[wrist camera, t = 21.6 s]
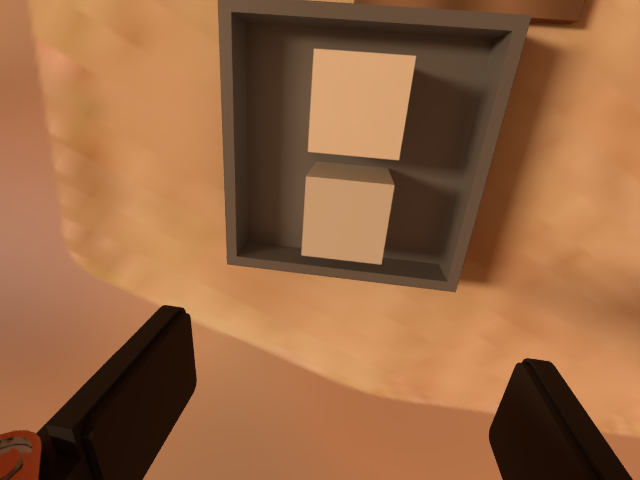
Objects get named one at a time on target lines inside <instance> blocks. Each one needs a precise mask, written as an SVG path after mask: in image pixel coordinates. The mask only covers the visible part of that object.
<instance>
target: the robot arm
mask: <svg viewBox="0 0 640 480" xmlns="http://www.w3.org/2000/svg"><path fill="white" fill-rule="evenodd" d="M196 380H197V379H196V369H195V359H194V349H193V338H192V328H191V318H190V315H189V314H188V313H186V312H185V309H184V308H181V307H174V306H168V305H164V306H162V307H160V308H159V309H158V311H156V312H155V314H153V316H152V317H151V318H150V319H149V320H148V321H147V322H146V323H145V324H144V325H143V326H142V327H141V328H140V329H139V330H138V331H137V332H136V333H135V334H134V335H133V336H132V337H131V338H130V339H129V340H128V341H127V342H126V343H125V344H124V345H123V346H122V347H121V348H120V349H119V350H118V351H117V352H116V353H115V354H114V355H113V356H112V357H111V358H110V359H109V360H108V361H107V362H106V363H105V364H104V365H103V366H102V367H101V368H100V369H99V370H98V371H97V372H96V373H95V374H94V375H93V376H92V377H91V378H90V379H89V380H88V381H87V382H86V383H85V384H84V385H83V386H82V387H81V388H80V389H79V390H78V391H77V392H76V394H75V395H74V396H73V397H72V398H71V399H70V400H69V401H68V402H67V403H66V404H65V405H64V406H63V407H62V408H61V409H60V410H59V411H58V412H57V413H56V414H55V415H54V416H53V417H52V418H51V419H50V420H49V421H48V422H47V423H46V424H45V425H44V426H43V427H42V428H41V429H40V430H39V431H38V432H37V433H34V432H30V431H27V430H19V431H12V432H8V433H4V434H1V435H0V480H143V478H144V476H145V474H146V473H147V471H148V469H149V468H150V466H151V464H152V463H153V461H154V459H155V457H156V455H157V454H158V452H159V451H160V449H161V447H162V446H163V444H164V442H165V440H166V439H167V437H168V435H169V434H170V432H171V430H172V428H173V427H174V425H175V423H176V422H177V420H178V418H179V416H180V415H181V413H182V411H183V410H184V408H185V406H186V405H187V403H188V401H189V399H190V398H191V396H192V394H193V392H194V390H195V387H196ZM489 440H490V444H491V447H492V450H493V453H494V456H495V459H496V462H497V464H498V467H499V470H500V473H501V476H502V479H503V480H633V479H632V478H631V477H630V475H629V474H628V472H627V471H626V469H625V468H624V466H623V465H622V463H621V462H620V461H619V459H618V458H617V456H616V455H615V453H614V452H613V450H612V449H611V447H610V446H609V445H608V443H607V442H606V440H605V439H604V437H603V436H602V434H601V433H600V431H599V430H598V428H597V427H596V426H595V424H594V423H593V421H592V420H591V418H590V417H589V415H588V414H587V412H586V411H585V410H584V408H583V407H582V405H581V404H580V402H579V401H578V399H577V398H576V396H575V395H574V394H573V392H572V391H571V389H570V388H569V386H568V385H567V383H566V382H565V380H564V379H563V378H562V376H561V375H560V373H559V372H558V370H557V369H556V367H555V366H554V365H553V364H552V363H551V362H549V361H543V360H536V359H530V358H526V359H524V360H523V362H522V363H517V364H516V366H515V368H514V370H513V373H512V375H511V378H510V380H509V383H508V385H507V388H506V390H505V393H504V395H503V397H502V400H501V402H500V405H499V407H498V410H497V412H496V415H495V417H494V420H493V422H492V424H491V427H490V430H489Z"/></svg>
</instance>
